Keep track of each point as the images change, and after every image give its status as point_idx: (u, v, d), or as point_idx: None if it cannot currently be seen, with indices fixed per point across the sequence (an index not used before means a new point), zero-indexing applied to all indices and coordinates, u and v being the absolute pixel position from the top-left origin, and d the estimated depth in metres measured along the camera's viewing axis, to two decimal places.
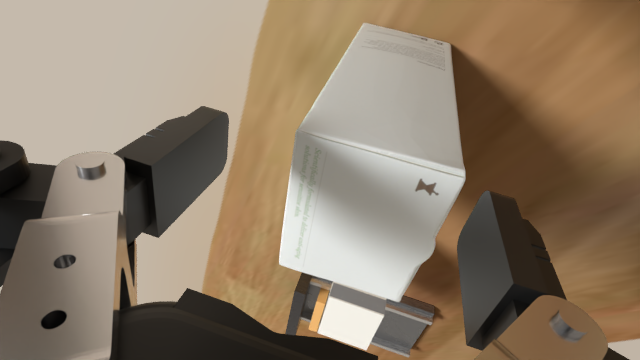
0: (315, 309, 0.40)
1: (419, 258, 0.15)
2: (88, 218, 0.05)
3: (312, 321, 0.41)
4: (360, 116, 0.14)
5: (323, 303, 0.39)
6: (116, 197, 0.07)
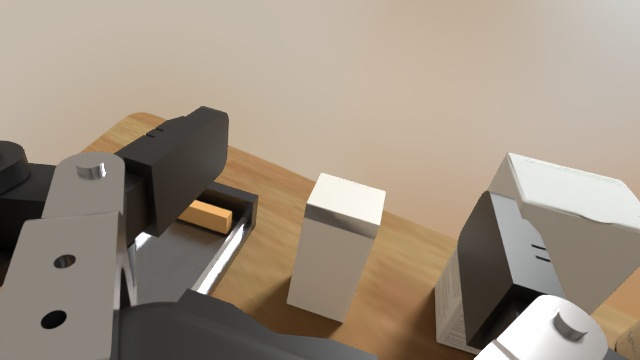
0: (215, 207, 0.33)
1: (587, 214, 0.20)
2: (88, 218, 0.05)
3: None
4: None
5: (227, 217, 0.32)
6: (116, 197, 0.07)
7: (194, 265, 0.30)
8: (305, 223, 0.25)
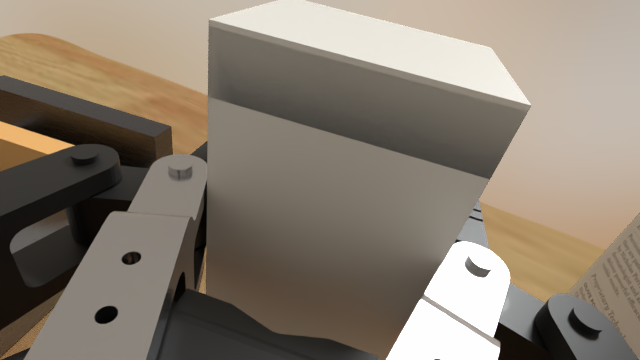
0: (67, 145, 0.15)
1: None
2: (162, 219, 0.06)
3: (15, 129, 0.15)
4: None
5: None
6: (194, 201, 0.07)
7: None
8: (217, 124, 0.07)
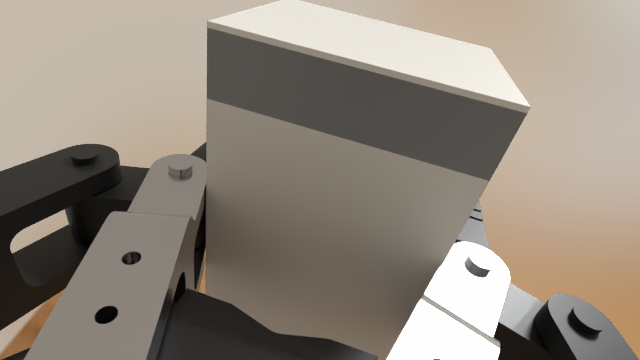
0: None
1: None
2: (162, 219, 0.06)
3: None
4: None
5: None
6: (194, 201, 0.07)
7: None
8: (216, 126, 0.07)
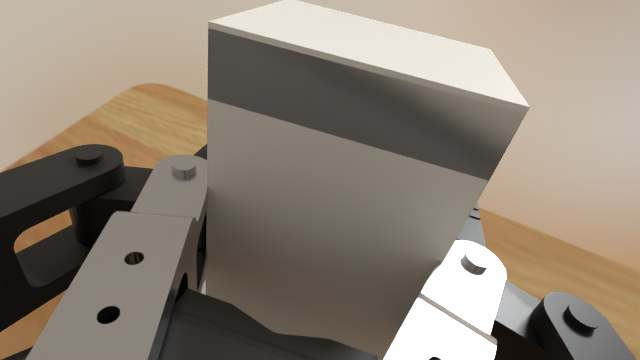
0: None
1: None
2: (165, 219, 0.06)
3: None
4: None
5: None
6: (197, 202, 0.07)
7: None
8: (217, 126, 0.07)
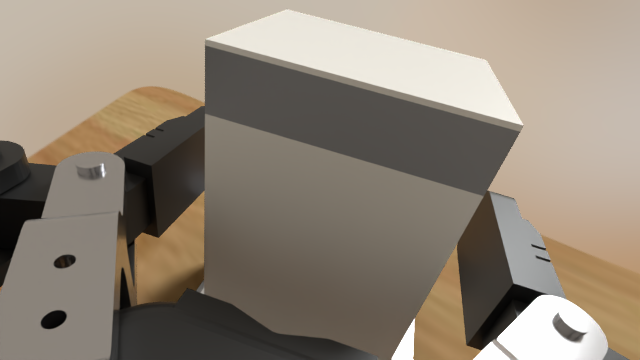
0: None
1: None
2: (88, 218, 0.05)
3: None
4: None
5: None
6: (116, 197, 0.07)
7: None
8: (214, 140, 0.07)
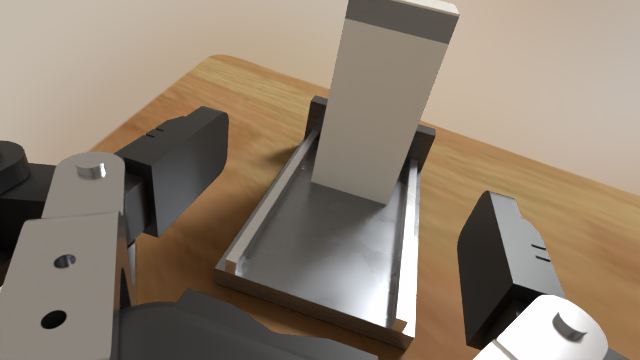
0: None
1: None
2: (88, 218, 0.05)
3: None
4: None
5: None
6: (116, 197, 0.07)
7: (379, 214, 0.21)
8: (346, 30, 0.17)
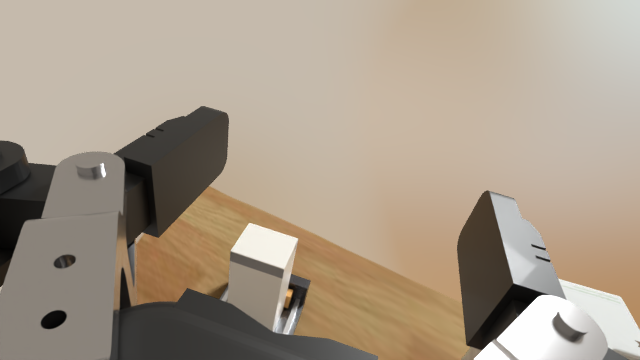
0: None
1: None
2: (88, 218, 0.05)
3: None
4: None
5: (290, 295, 0.39)
6: (116, 197, 0.07)
7: None
8: (231, 265, 0.32)
